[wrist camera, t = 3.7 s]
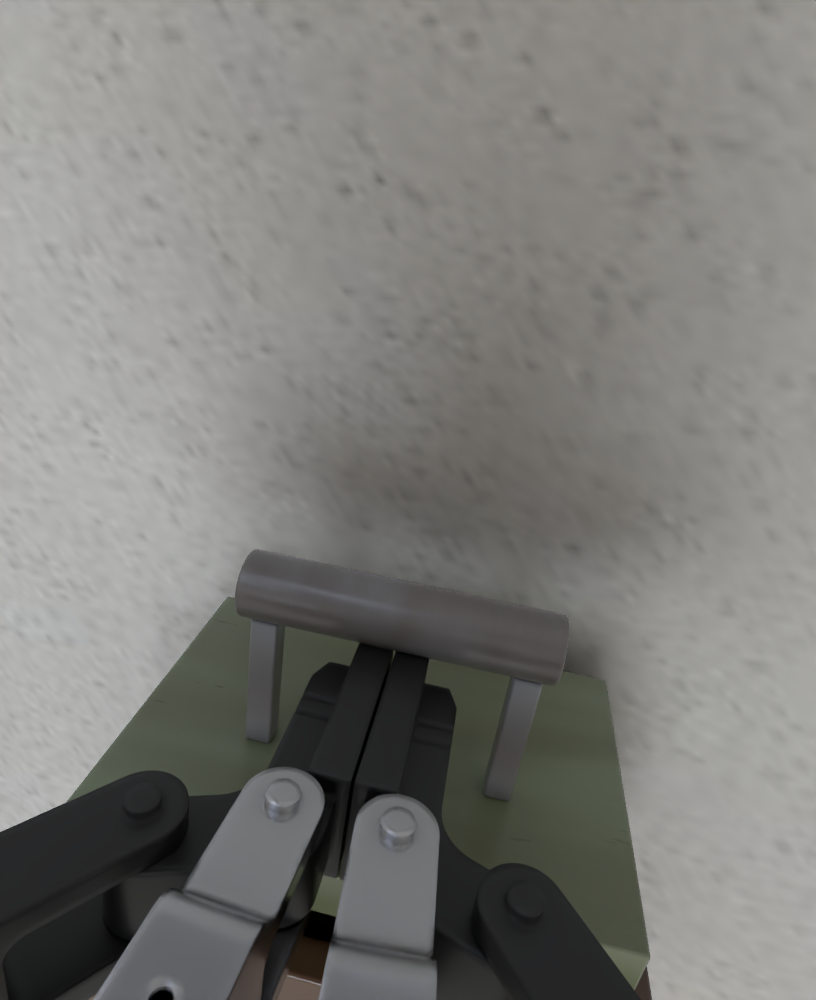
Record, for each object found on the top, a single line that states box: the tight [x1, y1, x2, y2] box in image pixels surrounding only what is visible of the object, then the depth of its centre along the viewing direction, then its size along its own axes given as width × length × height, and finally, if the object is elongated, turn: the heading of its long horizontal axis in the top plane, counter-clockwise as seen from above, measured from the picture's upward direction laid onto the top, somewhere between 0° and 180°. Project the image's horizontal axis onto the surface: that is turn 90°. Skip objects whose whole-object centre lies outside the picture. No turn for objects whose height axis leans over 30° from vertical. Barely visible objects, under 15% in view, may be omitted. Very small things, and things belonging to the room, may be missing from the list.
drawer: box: [66, 549, 650, 991], centre depth 18 cm, size 18×11×8 cm, turn 172°
